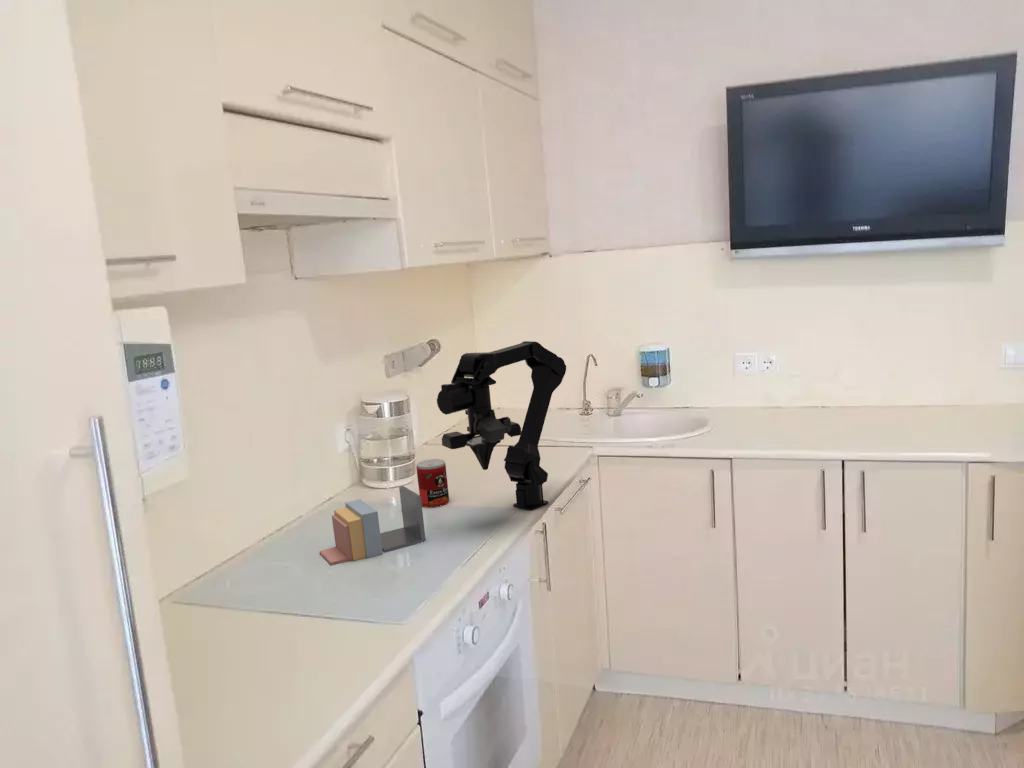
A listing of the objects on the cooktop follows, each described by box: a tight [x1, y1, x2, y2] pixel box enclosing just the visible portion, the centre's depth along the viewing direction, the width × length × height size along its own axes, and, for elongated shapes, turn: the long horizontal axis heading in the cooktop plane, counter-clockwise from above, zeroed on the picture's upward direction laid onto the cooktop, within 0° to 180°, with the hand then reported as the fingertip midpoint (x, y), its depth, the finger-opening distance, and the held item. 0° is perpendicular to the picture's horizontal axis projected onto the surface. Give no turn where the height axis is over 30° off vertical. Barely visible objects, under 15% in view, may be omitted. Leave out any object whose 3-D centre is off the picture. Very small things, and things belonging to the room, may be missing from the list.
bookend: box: [380, 485, 427, 553], centre depth 192 cm, size 10×11×11 cm
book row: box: [319, 498, 384, 566], centre depth 187 cm, size 11×12×10 cm
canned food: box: [415, 458, 450, 508], centre depth 218 cm, size 8×8×11 cm
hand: (485, 469), depth 198 cm, fingers closed
